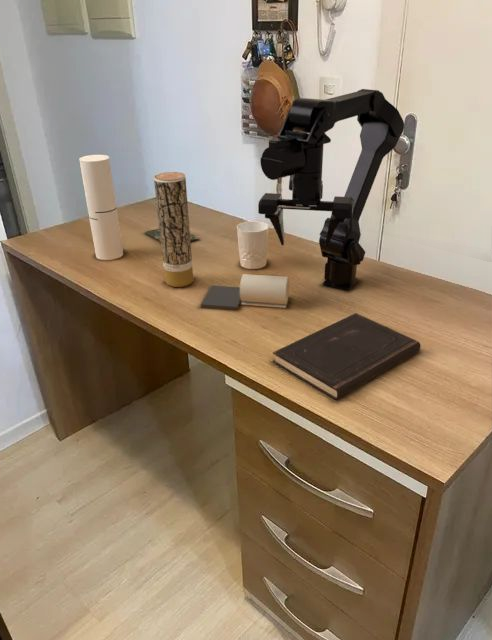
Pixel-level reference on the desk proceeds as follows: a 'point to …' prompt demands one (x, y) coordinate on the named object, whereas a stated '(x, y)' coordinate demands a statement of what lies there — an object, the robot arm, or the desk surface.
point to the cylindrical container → (101, 206)
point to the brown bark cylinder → (174, 228)
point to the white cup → (253, 244)
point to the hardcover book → (345, 354)
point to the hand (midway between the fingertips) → (304, 246)
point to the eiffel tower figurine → (157, 234)
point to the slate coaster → (222, 298)
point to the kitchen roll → (264, 290)
